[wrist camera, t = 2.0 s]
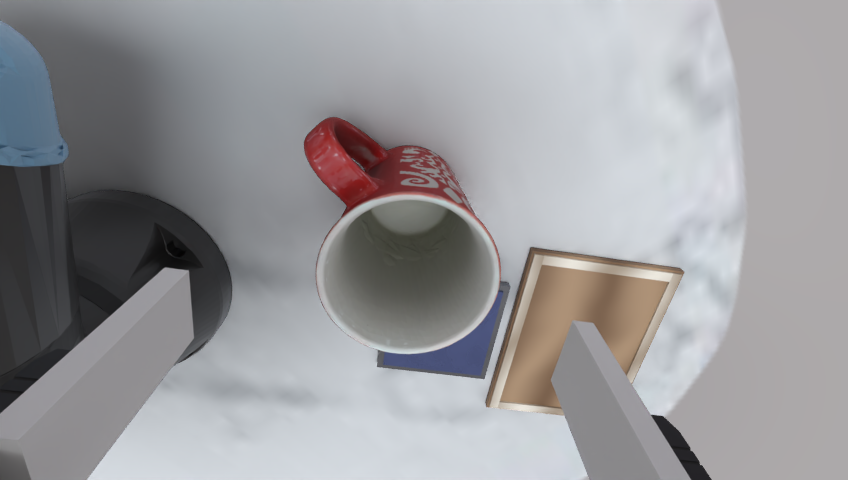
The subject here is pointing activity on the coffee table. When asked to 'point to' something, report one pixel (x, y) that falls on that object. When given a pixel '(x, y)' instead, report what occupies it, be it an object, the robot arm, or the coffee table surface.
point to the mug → (399, 245)
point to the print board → (581, 301)
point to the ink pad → (456, 349)
